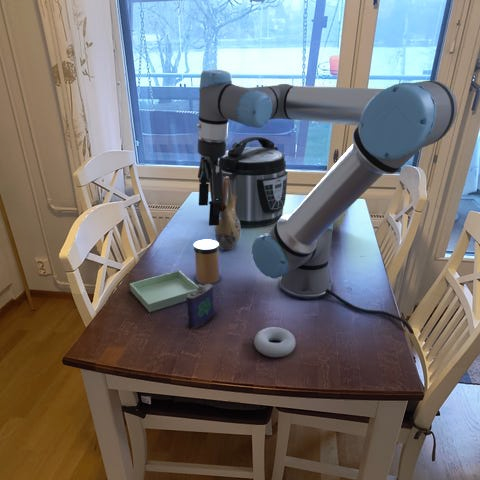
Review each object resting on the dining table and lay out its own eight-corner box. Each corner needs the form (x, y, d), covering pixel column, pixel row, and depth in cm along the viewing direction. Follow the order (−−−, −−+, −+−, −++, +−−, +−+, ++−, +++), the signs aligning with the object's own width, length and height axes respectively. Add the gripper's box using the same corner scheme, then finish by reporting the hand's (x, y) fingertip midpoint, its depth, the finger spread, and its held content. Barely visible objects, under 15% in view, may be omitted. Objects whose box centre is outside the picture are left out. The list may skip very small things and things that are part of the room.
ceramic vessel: (234, 258, 145) (233, 184, 131) (209, 255, 147) (206, 182, 133) (245, 240, 158) (246, 171, 144) (222, 237, 160) (220, 169, 146)
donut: (298, 360, 98) (292, 334, 107) (299, 348, 97) (293, 323, 105) (255, 361, 98) (252, 335, 106) (255, 349, 96) (252, 324, 104)
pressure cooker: (224, 233, 164) (222, 146, 146) (209, 210, 187) (206, 132, 169) (296, 226, 170) (303, 142, 153) (274, 204, 193) (277, 129, 176)
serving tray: (201, 296, 123) (201, 288, 122) (149, 312, 116) (148, 304, 114) (179, 277, 133) (179, 270, 132) (130, 290, 126) (129, 283, 124)
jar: (224, 280, 131) (223, 245, 125) (202, 286, 128) (201, 251, 122) (212, 271, 137) (210, 237, 130) (191, 276, 133) (188, 242, 127)
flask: (209, 311, 116) (207, 276, 110) (217, 314, 115) (216, 279, 109) (186, 326, 110) (183, 290, 104) (194, 330, 108) (192, 294, 103)
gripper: (189, 125, 119) (187, 197, 132) (209, 153, 100) (205, 234, 113) (215, 125, 121) (210, 197, 134) (239, 153, 102) (232, 233, 115)
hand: (208, 214), depth 123 cm, fingers open, 13 cm apart
